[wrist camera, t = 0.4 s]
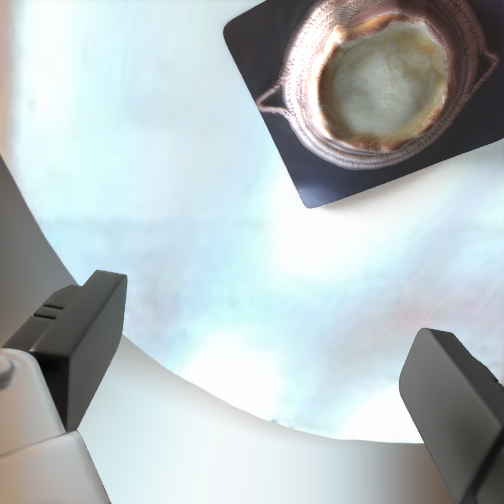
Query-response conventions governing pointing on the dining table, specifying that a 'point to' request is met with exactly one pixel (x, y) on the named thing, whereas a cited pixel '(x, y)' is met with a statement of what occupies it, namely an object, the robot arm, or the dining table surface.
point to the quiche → (371, 85)
